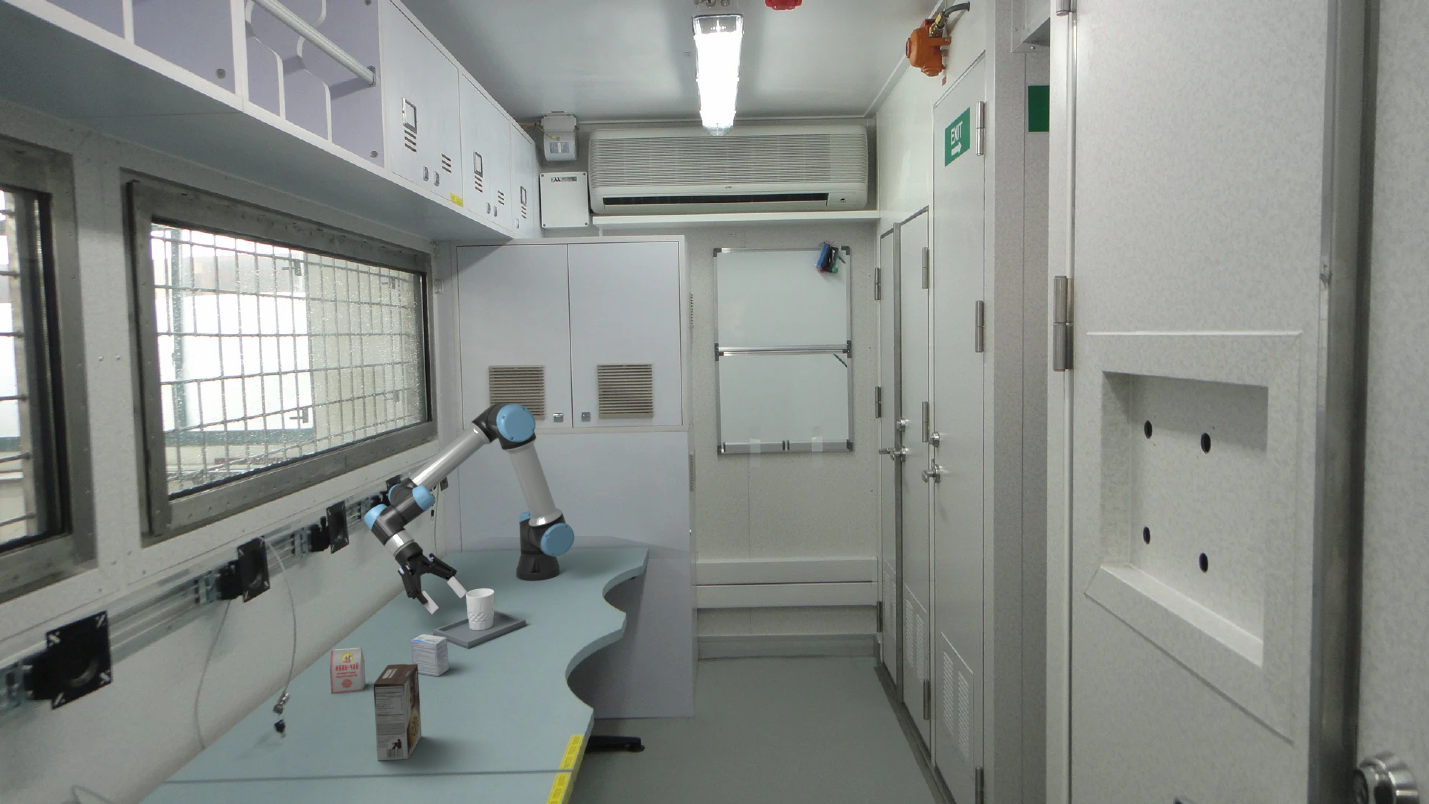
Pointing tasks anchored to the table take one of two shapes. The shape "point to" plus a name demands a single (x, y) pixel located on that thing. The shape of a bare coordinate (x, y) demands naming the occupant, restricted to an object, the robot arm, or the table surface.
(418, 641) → the medicine box
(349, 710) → the table surface
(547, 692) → the table surface
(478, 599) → the white cup
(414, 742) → the coffee box
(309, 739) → the table surface
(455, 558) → the table surface
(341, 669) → the white paper packet
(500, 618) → the tray
